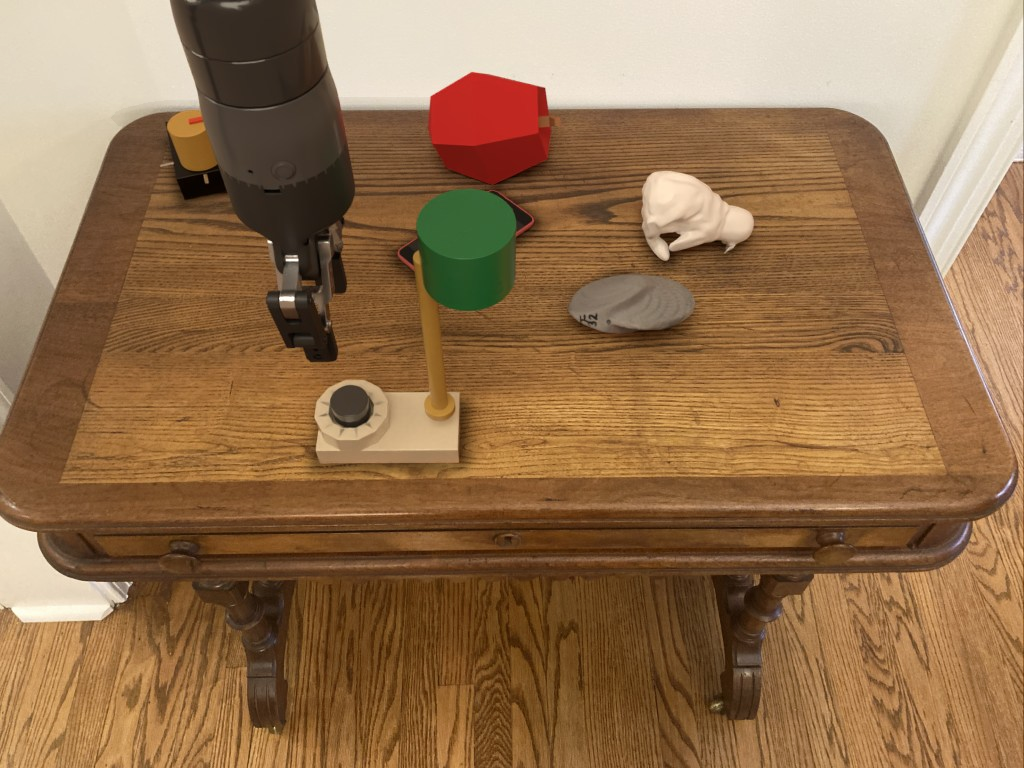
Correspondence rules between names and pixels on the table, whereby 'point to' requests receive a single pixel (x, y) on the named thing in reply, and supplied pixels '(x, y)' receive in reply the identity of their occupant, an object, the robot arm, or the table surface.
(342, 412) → the lamp switch
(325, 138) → the robot arm
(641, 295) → the seashell
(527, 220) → the smartphone
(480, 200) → the lamp
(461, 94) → the apple
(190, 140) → the dimmer knob
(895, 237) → the table surface
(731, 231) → the cream figurine
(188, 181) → the panel
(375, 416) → the lamp base
